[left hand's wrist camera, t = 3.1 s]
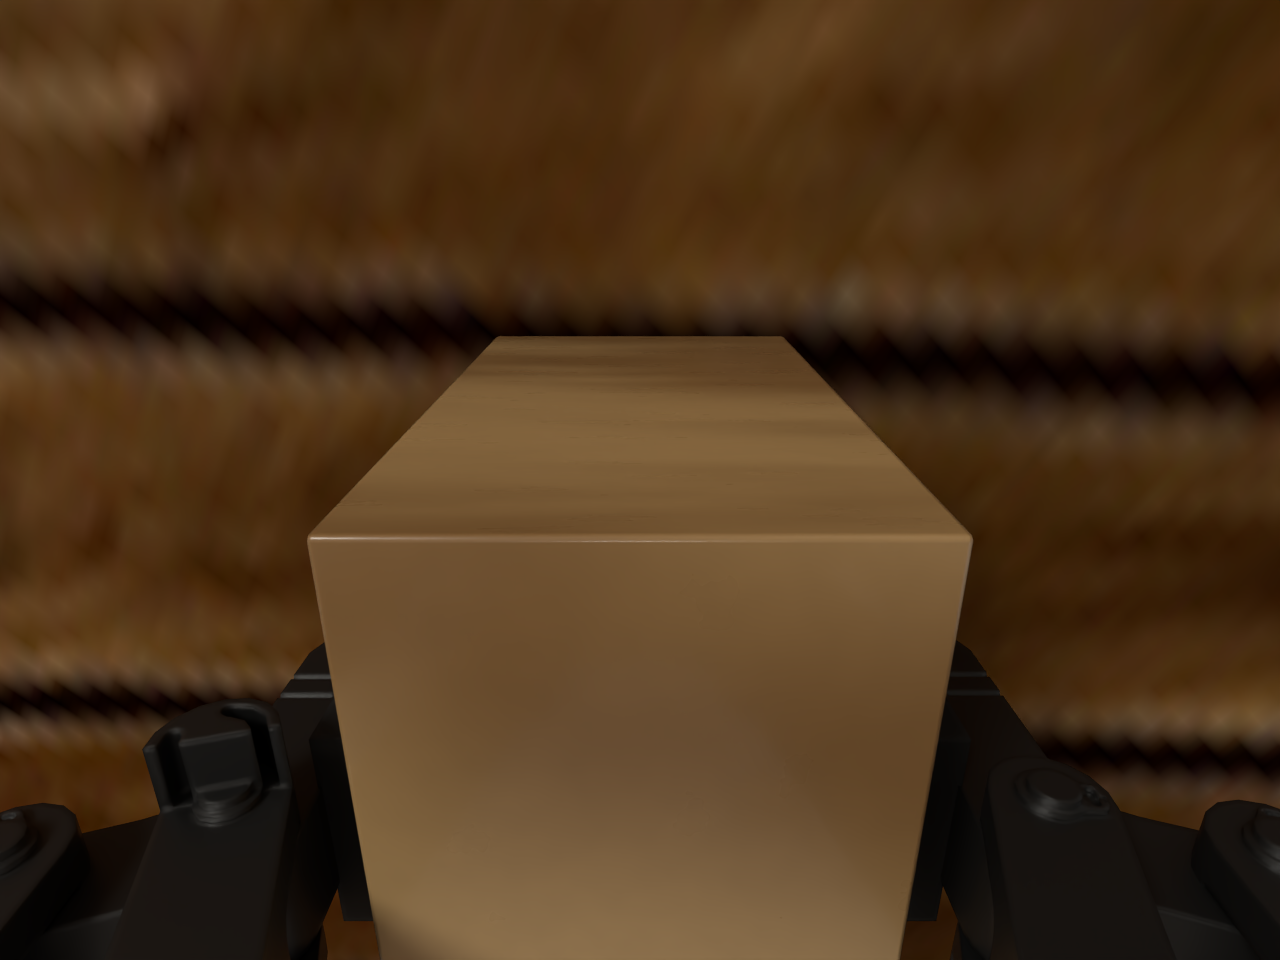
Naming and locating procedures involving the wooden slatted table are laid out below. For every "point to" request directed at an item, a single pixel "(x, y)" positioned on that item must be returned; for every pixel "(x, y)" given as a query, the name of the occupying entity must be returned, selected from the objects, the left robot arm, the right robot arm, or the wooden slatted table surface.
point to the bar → (640, 659)
